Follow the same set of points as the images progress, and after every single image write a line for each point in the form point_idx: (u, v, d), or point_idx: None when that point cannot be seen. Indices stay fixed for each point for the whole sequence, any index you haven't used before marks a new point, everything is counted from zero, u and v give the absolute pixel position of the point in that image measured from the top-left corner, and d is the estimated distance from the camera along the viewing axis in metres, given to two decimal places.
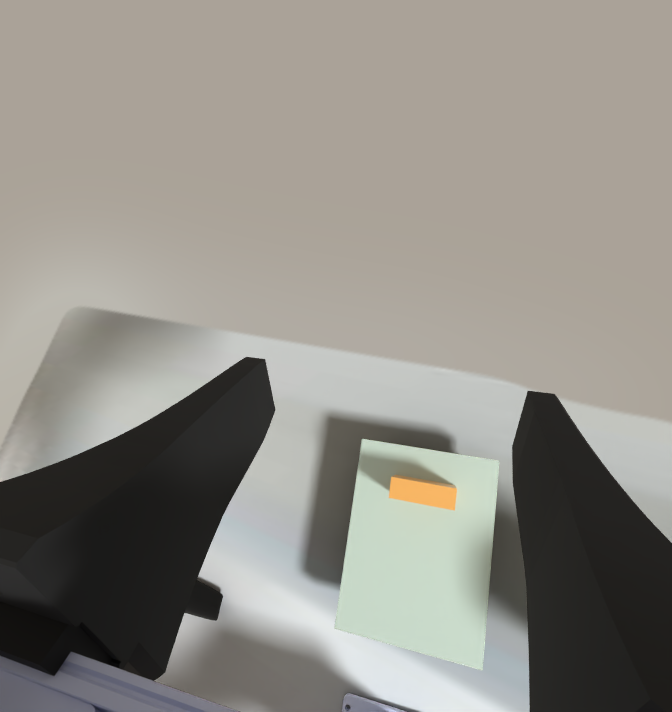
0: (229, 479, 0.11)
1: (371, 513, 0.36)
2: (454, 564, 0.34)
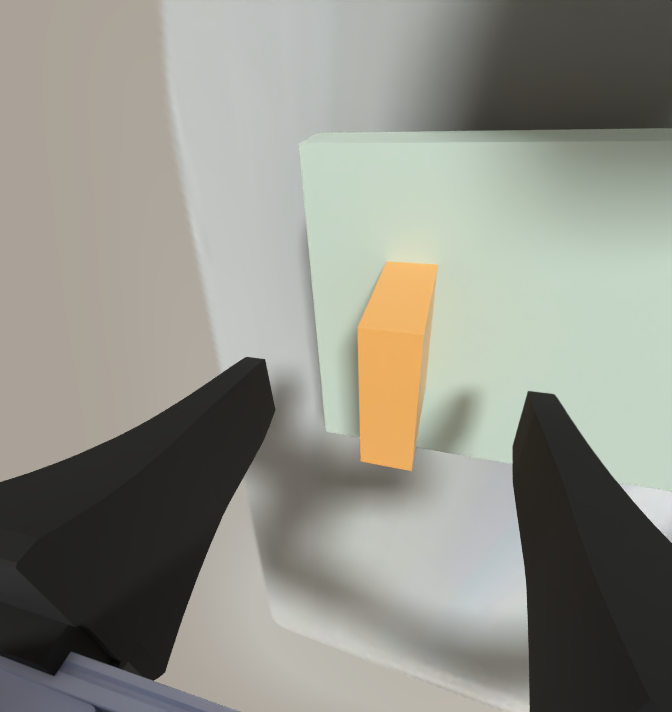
0: (229, 479, 0.11)
1: (474, 426, 0.16)
2: (611, 254, 0.11)
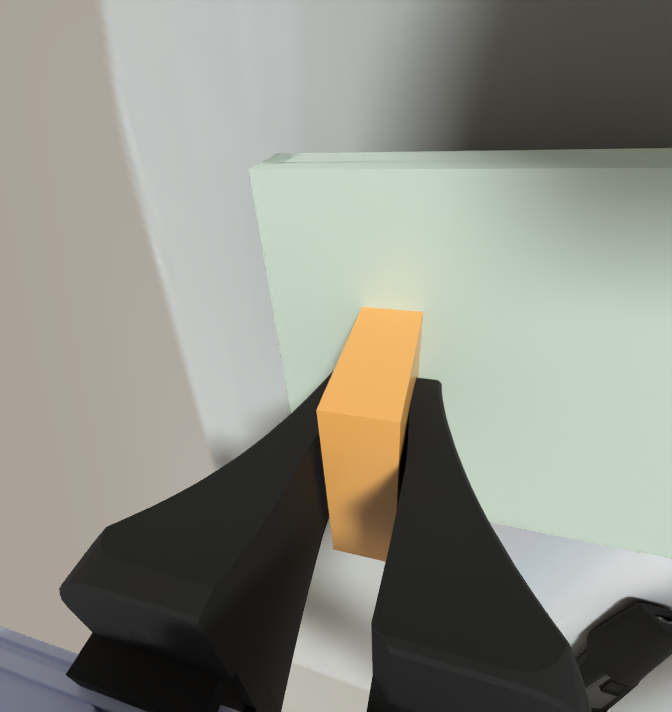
0: None
1: None
2: (637, 303, 0.09)
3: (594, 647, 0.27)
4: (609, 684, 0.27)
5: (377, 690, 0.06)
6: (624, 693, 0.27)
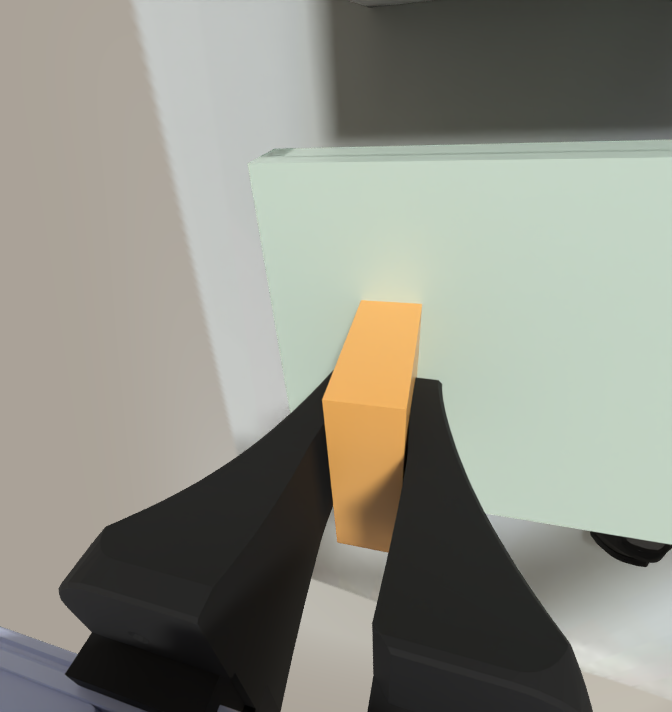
0: (328, 499, 0.10)
1: (470, 479, 0.14)
2: (631, 291, 0.09)
3: None
4: None
5: (378, 690, 0.05)
6: None
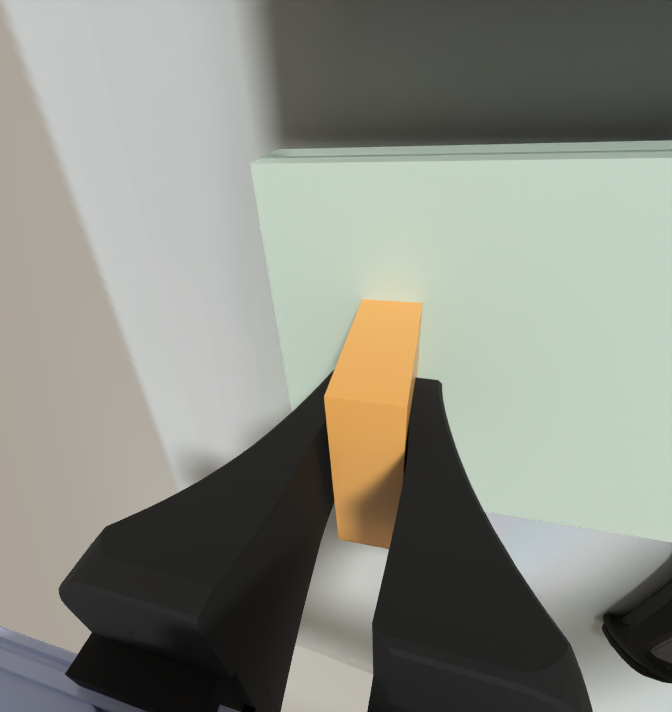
0: (328, 499, 0.10)
1: (470, 477, 0.14)
2: (630, 290, 0.09)
3: None
4: None
5: (378, 690, 0.05)
6: None
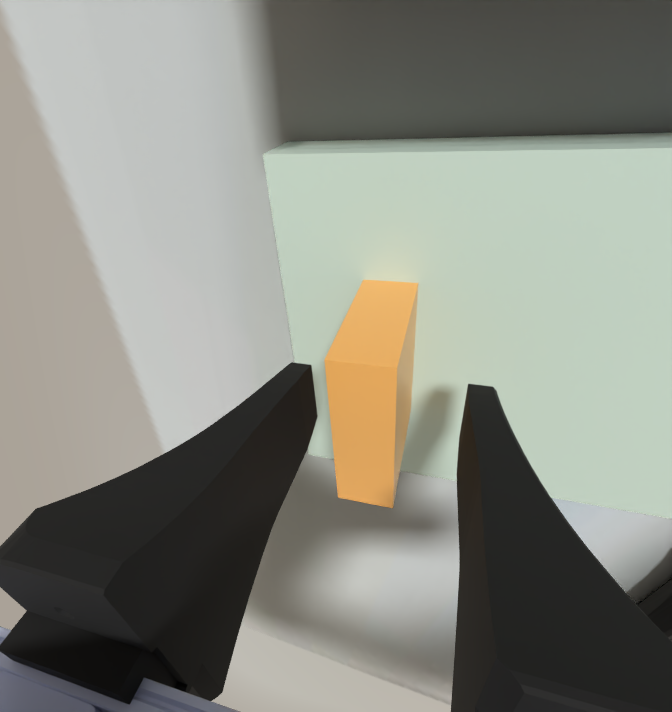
0: (278, 489, 0.11)
1: None
2: (607, 271, 0.10)
3: None
4: None
5: None
6: None
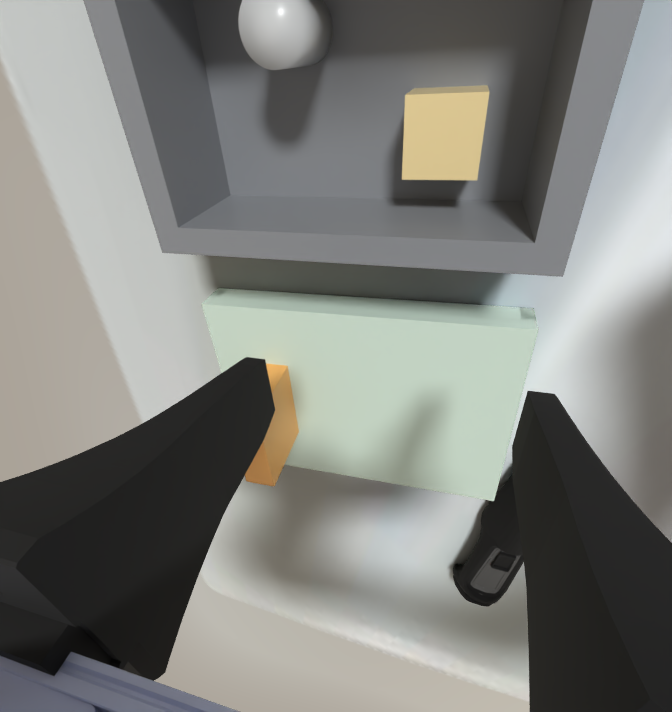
0: (229, 479, 0.11)
1: (333, 455, 0.25)
2: (372, 365, 0.21)
3: (486, 521, 0.27)
4: (498, 558, 0.26)
5: None
6: (514, 570, 0.27)
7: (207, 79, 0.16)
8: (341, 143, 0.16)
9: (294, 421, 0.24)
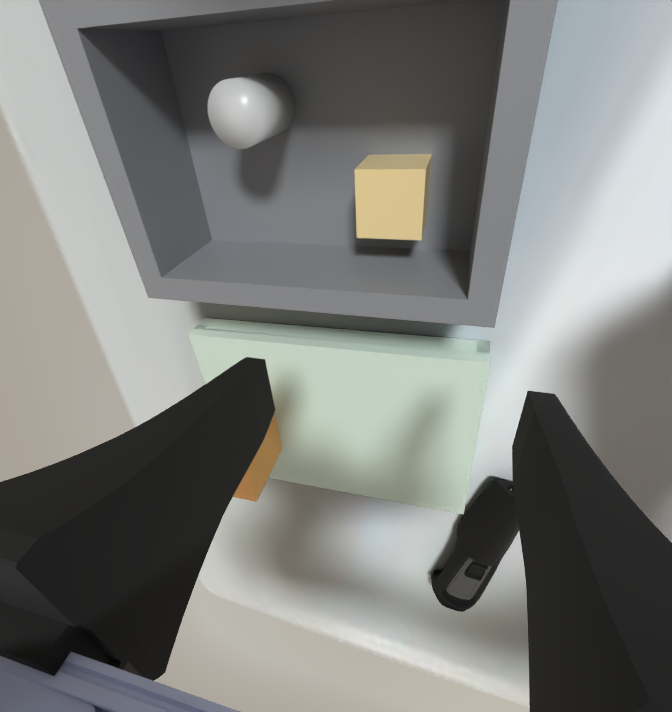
0: (229, 479, 0.11)
1: (314, 470, 0.27)
2: (345, 391, 0.22)
3: (461, 532, 0.28)
4: (471, 567, 0.28)
5: None
6: (487, 579, 0.29)
7: (187, 142, 0.18)
8: (308, 198, 0.18)
9: (277, 439, 0.26)
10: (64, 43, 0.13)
